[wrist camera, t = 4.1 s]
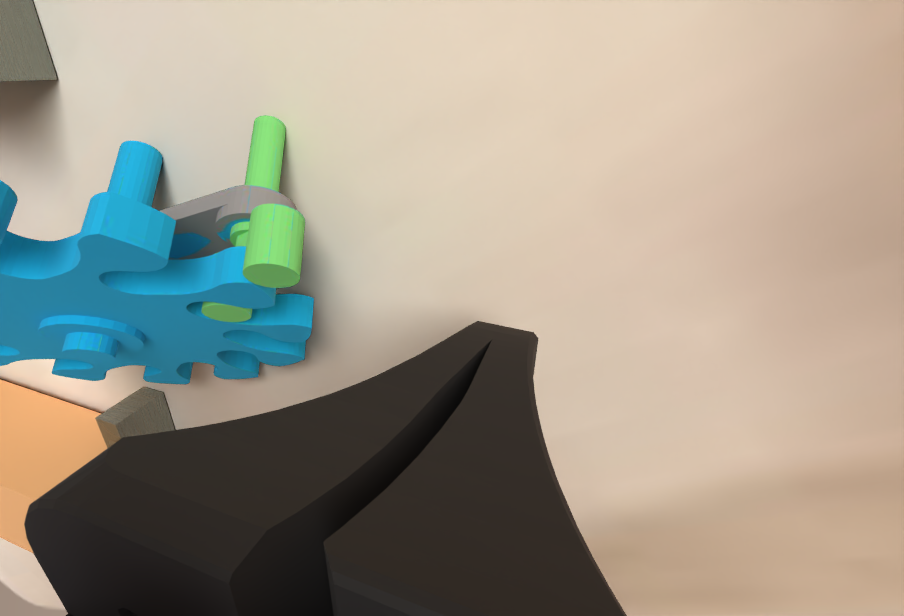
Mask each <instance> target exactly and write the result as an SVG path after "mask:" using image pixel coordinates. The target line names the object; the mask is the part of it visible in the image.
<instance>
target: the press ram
mask: <svg viewBox="0 0 904 616" xmlns="http://www.w3.org/2000/svg"><path fill="white" fill-rule="evenodd" d="M100 414H101V413H98V412H95V411H92V410H89V409H86V408H83V407H80V406H77V405H74V404H71V403H68V402H65V401H62V400H59V399H57V398H54V397H51V396H48V395H45V394H42V393H39V392H36V391H33V390H30V389H27V388H24V387H21V386H18V385H15V384H12V383H9V382H6V381H3V380H0V537H1V538H3V539H5V540H7V541H9V542H11V543H13V544H15V545H17V546H19V547H21V548H23V549H25V550H28V551H30V552H32V553H33V550H32V548H31V546H30V544H29V542H28V540H27V537H26V531H25V526H24V522H25V518H26V514H27V511H28V508H29V505H30V504H31V503H32V502H34V501H35V500H37V499H38V498H39V497H41V496H42V495H44V494H45V493H46V492H48V491H49V490H50V489H52V488H53V487H55V486H56V485H57V484H59V483H60V482H62V481H63V480H64V479H66V478H67V477H69V476H70V475H71V474H73V473H74V472H75V471H77V470H78V469H80V468H81V467H82V466H84V465H85V464H87V463H88V462H89V461H91V460H92V459H94V458H95V457H96V456H98V455H99V454H100V453H102V452H103V451H105V450H106V449H107V446H106V443H105V441H104V439H103V436H102V434H101V431H100V429H99V426H98V424H97V421H96V419H95V418H96V417H97V416H99V415H100Z"/></svg>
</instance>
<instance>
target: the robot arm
mask: <svg viewBox="0 0 904 616" xmlns="http://www.w3.org/2000/svg"><path fill="white" fill-rule="evenodd" d="M537 344H538V338H537V336H536V335H535V334H534V332H529V331H524V330H519V329H514V328H509V327H504V326H499V325H494V324H490V323H485V322H480V321H477V322H475V323H473V324H471V325H469V326H468V327H466V328H464V329H463V330H461V331H459V332H458V333H456V334H454V335H452V336H451V337H449V338H447V339H446V340H444V341H442V342H440V343H439V344H437V345H435V346H433V347H432V348H430V349H428V350H426V351H425V352H423V353H421V354H419V355H417V356H416V357H414V358H412V359H410V360H407V361H405V362H403V363H401V364H399V365H397V366H395V367H393V368H391V369H389V370H387V371H385V372H383V373H381V374H379V375H377V376H375V377H372V378H370V379H368V380H365V381H363V382H361V383H358V384H356V385H353V386H350V387H348V388H345V389H342V390H340V391H337V392H335V393H332V394H329V395H326V396H323V397H319V398H316V399H313V400H309V401H306V402H303V403H299V404H296V405H293V406H289V407H286V408H283V409H279V410H275V411H272V412H267V413H263V414H259V415H255V416H251V417H246V418H241V419H237V420H232V421H227V422H222V423H217V424H212V425H206V426H200V427H194V428H187V429H180V430H173V431H166V432H159V433H152V434H146V435H138V436H129V437H123V438H121V439H120V440H118V441H117V442H116V443H114V444H113V445H112V446H110V447H109V448H107V449H106V450H105V451H103V452H102V453H100V454H99V455H98V456H96V457H95V458H94V459H92V460H91V461H89V462H88V463H87V464H85V465H84V466H82V467H81V468H80V469H78V470H77V471H75V472H74V473H73V474H71V475H70V476H69V477H67V478H66V479H64V480H63V481H62V482H60V483H59V484H57V485H56V486H55V487H53V488H52V489H50V490H49V491H48V492H46V493H45V494H44V495H42V496H41V497H39V498H38V499H37V500H35V501H34V502H32V503H31V504H30V505H29V508H28V511H27V514H26V518H25V522H24V526H25V531H26V537H27V540H28V542H29V544H30V546H31V548H32V550H33V553H34V555H35V557H36V558H37V560H38V562H39V564H40V565H41V567H42V569H43V570H44V572H45V574H46V576H47V577H48V579H49V581H50V583H51V584H52V586H53V588H54V590H55V591H56V593H57V595H58V597H59V598H60V600H61V602H62V603H63V605H64V607H65V609H66V610H67V612H68V614H67V615H66V616H626V614H625V612H624V611H623V609H622V607H621V606H620V604H619V602H618V601H617V599H616V597H615V595H614V594H613V592H612V590H611V589H610V587H609V585H608V584H607V582H606V580H605V578H604V576H603V575H602V573H601V571H600V569H599V567H598V566H597V564H596V562H595V560H594V558H593V556H592V554H591V553H590V551H589V549H588V547H587V545H586V543H585V541H584V539H583V537H582V535H581V533H580V531H579V529H578V527H577V525H576V522H575V520H574V518H573V515H572V513H571V511H570V508H569V506H568V504H567V501H566V499H565V497H564V495H563V492H562V490H561V488H560V485H559V483H558V480H557V478H556V475H555V472H554V469H553V466H552V463H551V460H550V458H549V454H548V451H547V448H546V444H545V441H544V437H543V433H542V429H541V425H540V421H539V416H538V411H537V406H536V399H535V393H534V382H533V374H534V367H535V359H536V352H537Z"/></svg>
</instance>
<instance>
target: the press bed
mask: <svg viewBox="0 0 904 616" xmlns="http://www.w3.org/2000/svg"><path fill="white" fill-rule="evenodd" d="M26 80H58V79H57V76H56V73H55V70H54V67H53V64H52V60H51V57H50V54H49V51H48V48H47V45H46V42H45V39H44V35H43V32H42V29H41V26H40V23H39V20H38V17H37V14H36V11H35V7H34V4H33V1H32V0H0V81H26ZM95 419H96V421H97V424H98V426H99V429H100V431H101V434H102V436H103V439H104V441H105V443H106V446H107V448H109V447H110V446H112V445H113V444H114V443H116V442H117V441H118V440H120V439H121V438H123V437H129V436H138V435H146V434H152V433H159V432H166V431H173V430H175V429H174V425H173V422H172V419H171V416H170V413H169V410H168V406H167V403H166V400H165V397H164V394H163V392H160V391H157V390H153V389H150V388H147V387H142V388H141V389H139V390H138V391H136V392H135V393H133V394H132V395H130V396H128V397H127V398H125V399H124V400H122V401H121V402H119V403H118V404H116V405H114V406H113V407H111V408H110V409H108V410H107V411H105V412H104V413H102V414H100V415H99V416H97V417H96V418H95Z"/></svg>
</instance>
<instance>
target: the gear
mask: <svg viewBox="0 0 904 616" xmlns="http://www.w3.org/2000/svg"><path fill="white" fill-rule="evenodd" d="M285 133H286V128H285V125H284V124H283V123H282V122H281V121H280V120H279V119H277V118H275V117H272V116H260V117H258V118H256V119H255V121H254V127H253V133H252V140H251V146H250V153H249V160H248V166H247V173H246V180H245V185H242V186H235V187H231V188H228V189H225V190H222V191H219V192H216V193H213V194H210V195H207V196H204V197H200V198H197V199H194V200H191V201H188V202H185V203H182V204H179V205H176V206H172V207H169V208H166V209H163V210H160V211H158V210H156V209H154V208H152V203H153V199H154V194H155V190H156V186H157V182H158V178H159V173H160V169H161V165H162V160H163V158H162V155H161V154H160V152H159V151H158V150H156V149H155V148H154V147H152V146H150V145H148V144H146V143H142V142H138V141H126V142H124V143H122V144H121V146H120V149H119V152H118V156H117V159H116V163H115V166H114V170H113V173H112V177H111V180H110V184H109V187H108V191H107V192H103V193H99V194H97V195H94V196H93V197H92V198H91V199H90V203H89V206H88V209H87V213H86V216H85V219H84V223H83V226H82V229H81V232H80V233H78V234H76V235H74V236H71V237H68V238H65V239H62V240H58V241H39V240H33V239H29V238H25V237H21V236H18V235H15V234H13V233H11V232H8V231H7V228H8V225H9V222H10V220H11V217H12V214H13V211H14V209H15V206H16V203H17V196H16V194H15V192H14V191H13V190H12V189H11V188H10V187H9V186H8V185H6V184H5V183H4V182H2V181H1V180H0V366H2V365H7V364H9V363H11V362H15V361H20V360H28V359H56V360H55V363H54V366H53V370H52V374H55V375H59V376H64V377H70V378H77V379H84V380H91V381H98V380H103V379H105V376H106V372H107V370H110V369H113V368H117V367H122V366H128V365H143V366H146V367H145V372H144V377H143V379H144V380H145V381H147V382H154V383H167V384H188V383H189V382H190V378H191V372H192V366H193V362H201V363H208V364H212V365H215V368H214V375H215V376H216V377H219V378H222V379H245V378H255V377H258V374H259V365H260V362H262V363H265V364H268V365H273V366H285V365H290V364H293V363H296V362H299V361H301V360H304V359H305V346H306V340H307V339H308V338H309V337H310V335H311V330H312V318H313V304H314V298H312V297H309V296H305V295H300V294H276V288H285V287H290V286H294V285H295V284H297V283H298V282H299V280H300V273H301V262H302V250H303V239H304V228H305V219H304V217H303V215H302V214H301V213H299V212H298V211H297V209H296V207H295V205H294V203H293V202H292V201H291V200H290V199H289V198H287V197H286V196H284V195H283V194H281V193H279V185H280V176H281V167H282V159H283V150H284V142H285Z"/></svg>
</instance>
